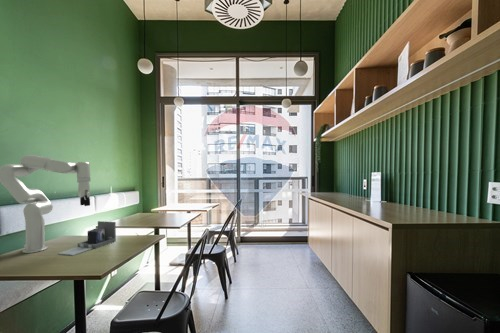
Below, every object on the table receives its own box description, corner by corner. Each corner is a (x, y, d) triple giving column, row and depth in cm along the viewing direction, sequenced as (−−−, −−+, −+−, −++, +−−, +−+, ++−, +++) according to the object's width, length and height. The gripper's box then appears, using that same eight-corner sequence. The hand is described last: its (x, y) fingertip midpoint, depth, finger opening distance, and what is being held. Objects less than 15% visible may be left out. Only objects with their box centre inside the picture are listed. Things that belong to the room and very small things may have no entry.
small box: (96, 246, 168) (96, 231, 168) (86, 246, 168) (86, 231, 168) (105, 242, 178) (105, 227, 178) (96, 242, 178) (96, 227, 178)
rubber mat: (57, 254, 154) (57, 253, 154) (77, 247, 166) (77, 246, 166) (73, 255, 150) (73, 254, 150) (92, 249, 163) (92, 248, 163)
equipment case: (76, 247, 167) (76, 226, 167) (99, 240, 184) (99, 221, 184) (94, 248, 163) (94, 227, 163) (115, 241, 180) (115, 221, 180)
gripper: (74, 180, 170) (75, 205, 170) (80, 180, 158) (82, 207, 158) (86, 179, 176) (88, 203, 176) (94, 179, 164) (95, 205, 164)
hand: (85, 205), depth 167 cm, fingers open, 9 cm apart
